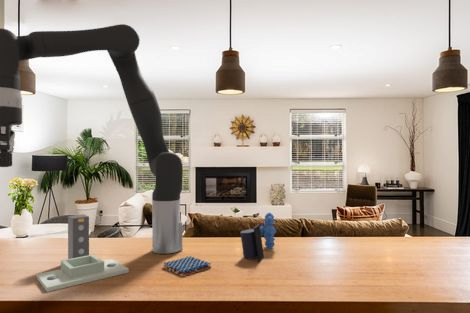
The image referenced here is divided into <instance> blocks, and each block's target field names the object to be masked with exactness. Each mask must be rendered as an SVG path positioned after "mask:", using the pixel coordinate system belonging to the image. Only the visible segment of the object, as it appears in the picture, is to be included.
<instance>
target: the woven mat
mask: <svg viewBox="0 0 470 313" xmlns="http://www.w3.org/2000/svg"><path fill="white" fill-rule="evenodd" d="M211 264H212V262H208V261H205V260H202V259H199V258H196V257H194V256H191V255H190V256H186V257H182V258H178V259H176V260H175V259H173V260H172V261H170V260H169V261H168V262H164V263H163V267H162V269H163V268H164V270H166V271H167V270H168V271H169V272H172V273H174V274H176V275H177V276H181V277H185V276H188V275H192V274H195V273H198V272H202V271H205V270H207V269H211V268H212V265H211ZM204 269H205V270H204Z"/></svg>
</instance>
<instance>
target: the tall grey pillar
mask: <svg viewBox="0 0 470 313" xmlns="http://www.w3.org/2000/svg"><path fill="white" fill-rule="evenodd" d="M67 241H68V242H67V253H68V254H67V259H72V258H77V257H83V256H88V255H90V217H89V215H86V214H75V215H68V216H67Z"/></svg>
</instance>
